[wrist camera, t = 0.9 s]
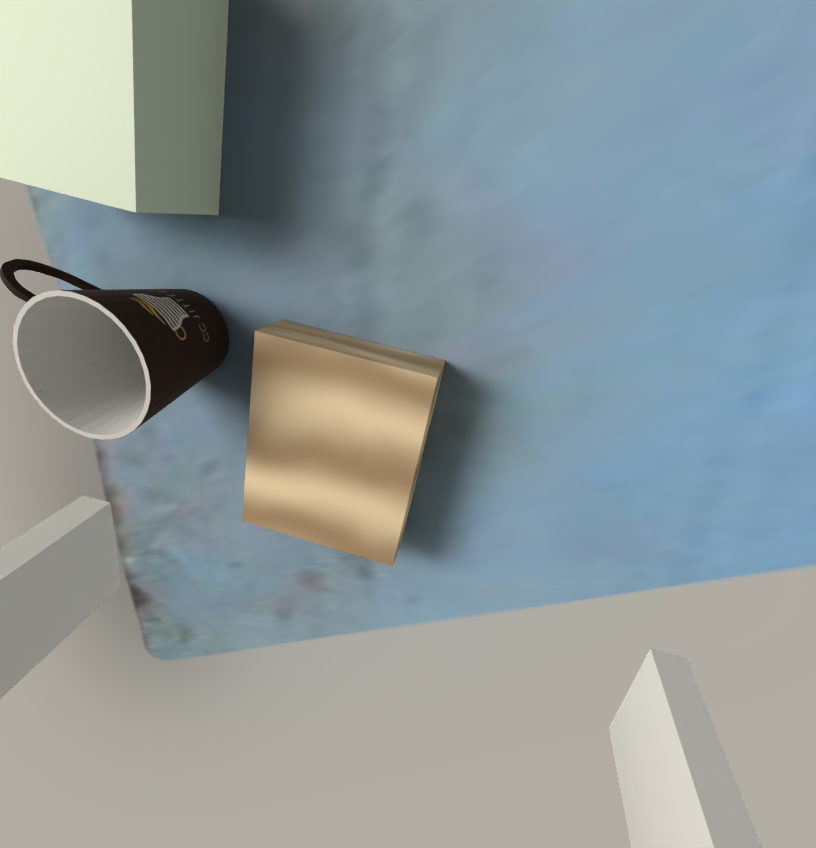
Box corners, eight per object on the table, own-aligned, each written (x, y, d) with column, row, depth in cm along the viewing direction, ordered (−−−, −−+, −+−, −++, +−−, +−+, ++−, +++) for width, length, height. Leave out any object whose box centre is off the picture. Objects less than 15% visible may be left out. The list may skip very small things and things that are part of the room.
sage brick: (72, -65, 28) (-82, -166, 21) (231, -32, 27) (129, -126, 20) (87, 181, 33) (-32, 169, 26) (219, 215, 32) (135, 212, 25)
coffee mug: (262, 368, 36) (178, 416, 27) (174, 400, 38) (71, 455, 29) (184, 210, 32) (58, 204, 23) (94, 258, 35) (-50, 270, 26)
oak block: (282, 319, 34) (254, 330, 30) (445, 360, 33) (437, 377, 29) (266, 494, 40) (242, 521, 37) (403, 534, 39) (392, 566, 35)
